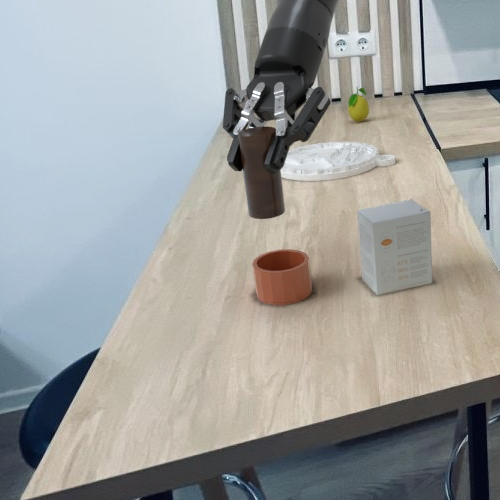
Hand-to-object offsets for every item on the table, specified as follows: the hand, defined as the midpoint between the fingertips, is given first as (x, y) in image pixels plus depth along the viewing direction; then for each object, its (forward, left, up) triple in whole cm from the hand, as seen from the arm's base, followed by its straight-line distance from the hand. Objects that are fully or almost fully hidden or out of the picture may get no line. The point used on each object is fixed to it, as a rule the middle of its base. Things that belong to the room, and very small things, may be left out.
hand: (252, 168), depth 76 cm
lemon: (+37, -105, -20) cm, 113 cm away
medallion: (+25, -66, -20) cm, 73 cm away
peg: (0, -2, -6) cm, 6 cm away
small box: (-10, -16, -20) cm, 28 cm away
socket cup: (+3, -8, -20) cm, 22 cm away
